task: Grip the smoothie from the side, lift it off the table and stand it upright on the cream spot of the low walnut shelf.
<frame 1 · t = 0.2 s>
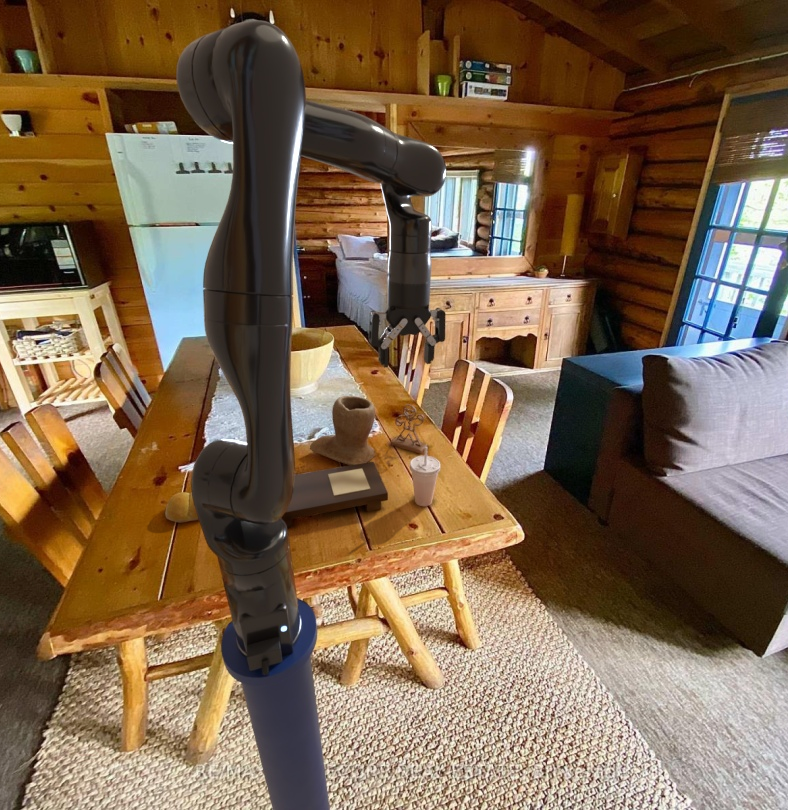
hand: (406, 364, 84), 30 cm above the table, tool pointing down, fingers open, 8 cm apart
bread roll: (191, 511, 91), on the table
smoothie: (423, 501, 95), on the table
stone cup: (347, 454, 111), on the table
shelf: (326, 501, 94), on the table
gingerbread man figurine: (408, 446, 115), on the table
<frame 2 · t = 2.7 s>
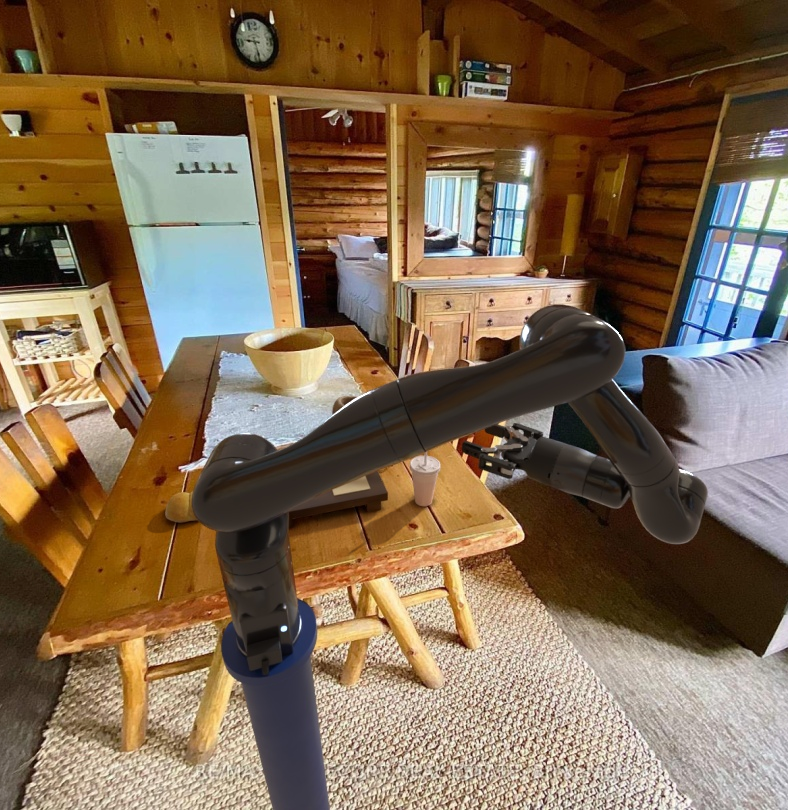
hand: (474, 436, 81), 20 cm above the table, tool horizontal, fingers open, 8 cm apart
nothing on the table moved.
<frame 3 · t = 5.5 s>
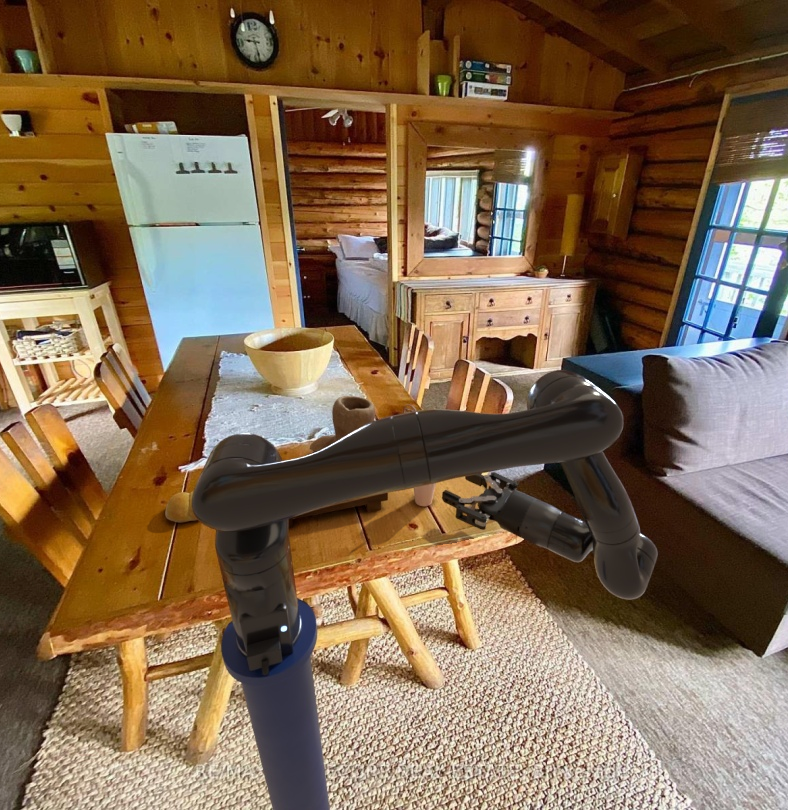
hand: (455, 484, 88), 8 cm above the table, tool horizontal, fingers open, 8 cm apart
nothing on the table moved.
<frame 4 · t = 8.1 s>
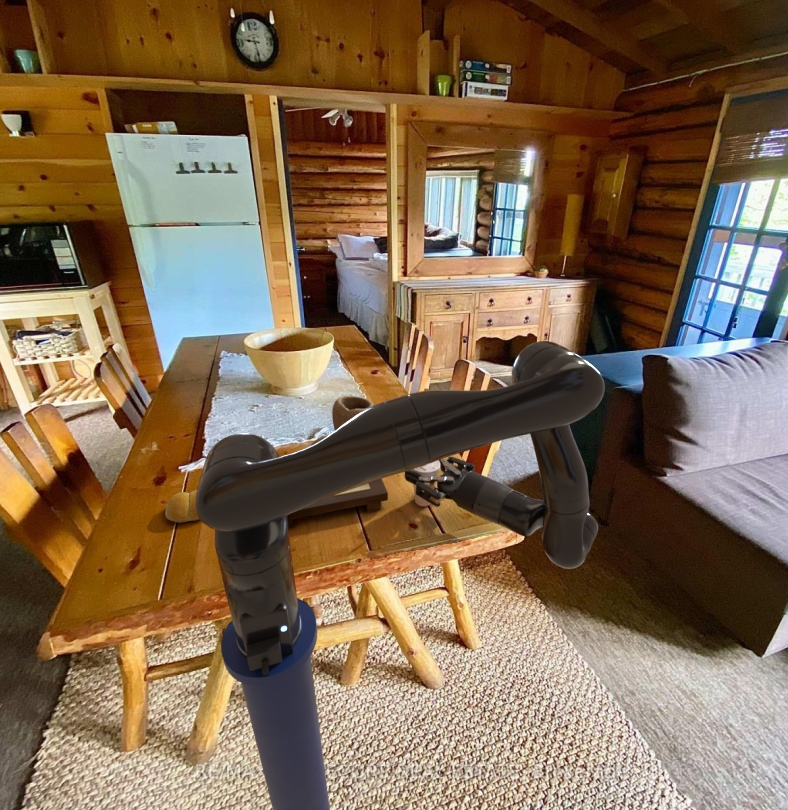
hand: (416, 466, 93), 8 cm above the table, tool horizontal, fingers closed on smoothie, 6 cm apart
smoothie: (423, 501, 95), on the table, touching gripper
everything else where it was.
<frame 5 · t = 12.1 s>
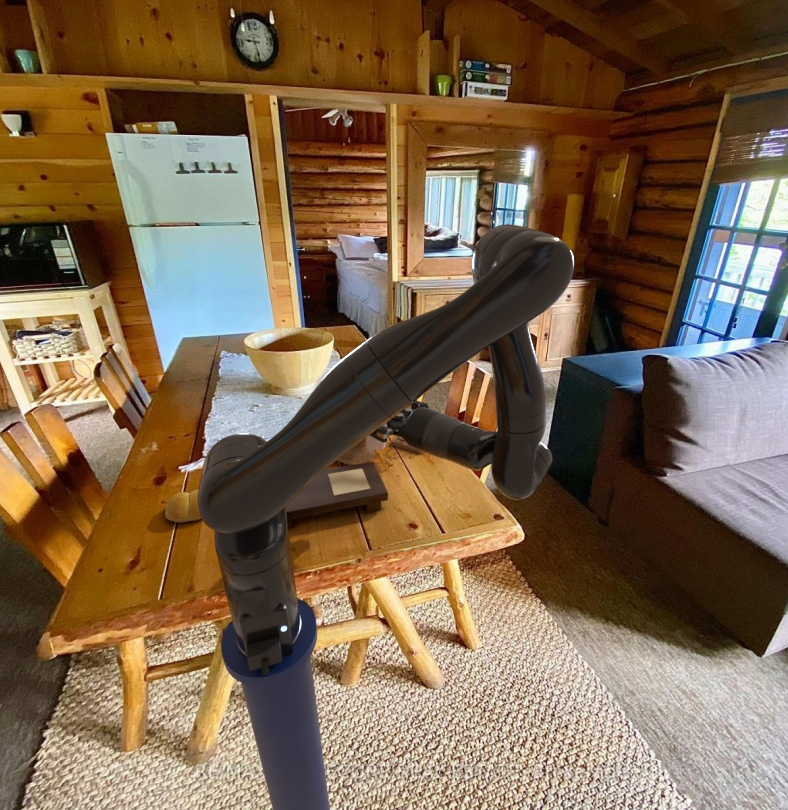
hand: (367, 406, 87), 22 cm above the table, tool horizontal, fingers closed on smoothie, 6 cm apart
smoothie: (376, 446, 89), point 13 cm above the table, touching gripper
everything else where it was.
when the fingers open (12 cm above the table, at t = 16.1 s): smoothie stays where it is, resting on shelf.
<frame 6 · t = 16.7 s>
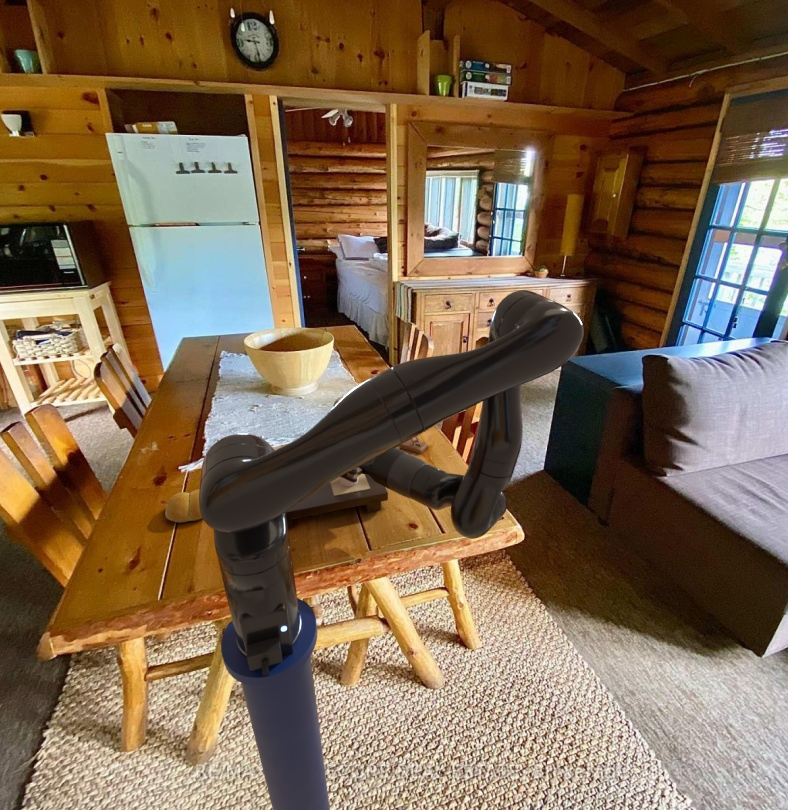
hand: (340, 443, 91), 13 cm above the table, tool horizontal, fingers open, 8 cm apart
smoothie: (349, 481, 94), point 4 cm above the table, touching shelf
everything else where it was.
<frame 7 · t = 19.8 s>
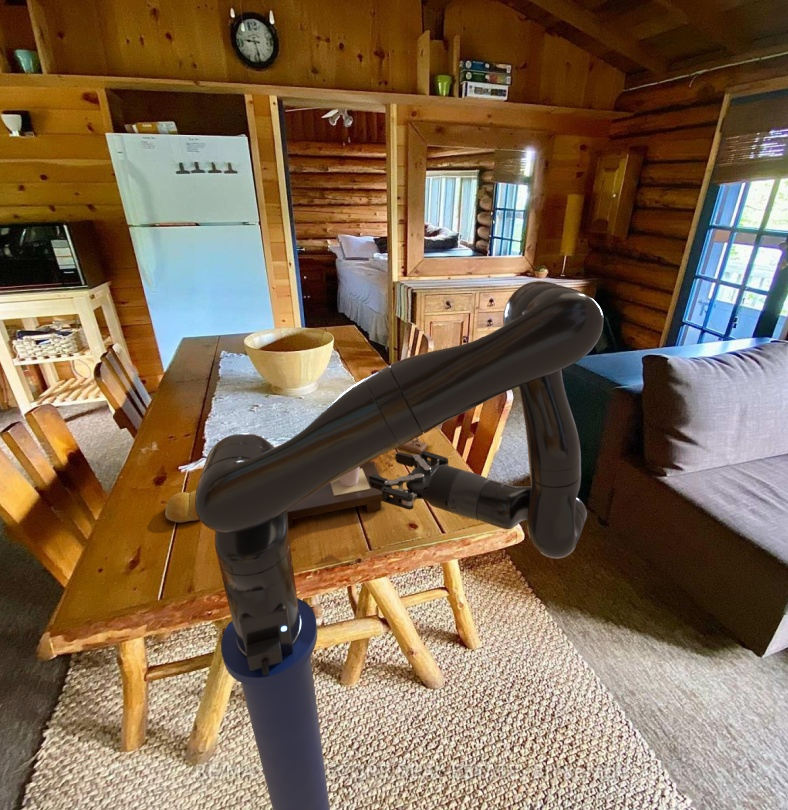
hand: (383, 467, 83), 13 cm above the table, tool horizontal, fingers open, 8 cm apart
nothing on the table moved.
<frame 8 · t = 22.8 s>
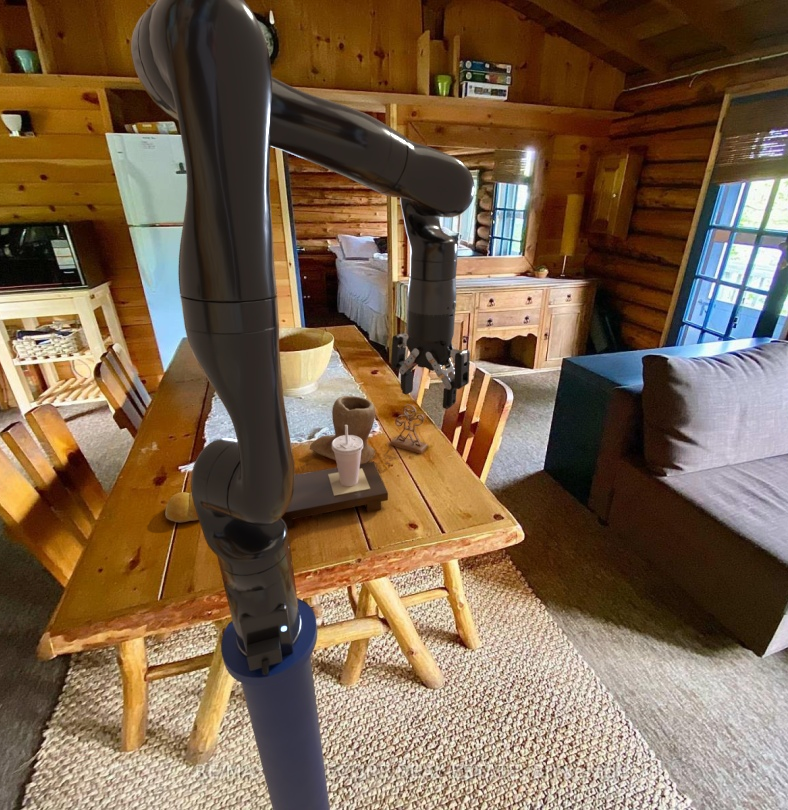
hand: (427, 399, 76), 28 cm above the table, tool pointing down, fingers open, 8 cm apart
nothing on the table moved.
at the end: smoothie inside the target area on the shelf (0.1 cm from its centre), point 4.0 cm above the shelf's base; smoothie tilted 0°; the gripper is holding nothing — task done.
